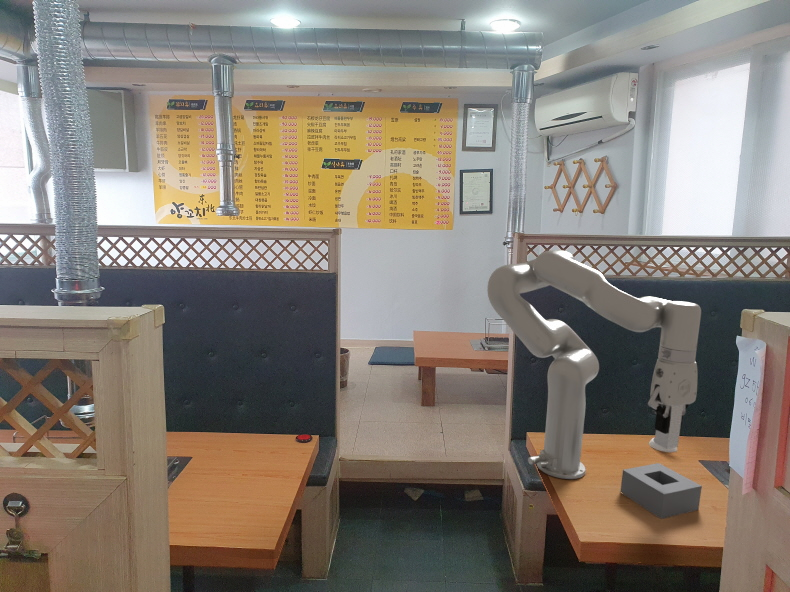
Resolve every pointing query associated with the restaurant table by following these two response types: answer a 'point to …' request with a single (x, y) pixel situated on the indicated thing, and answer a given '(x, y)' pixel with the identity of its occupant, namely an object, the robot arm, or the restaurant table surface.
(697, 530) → the restaurant table surface
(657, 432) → the steel post
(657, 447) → the hook
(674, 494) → the well block
